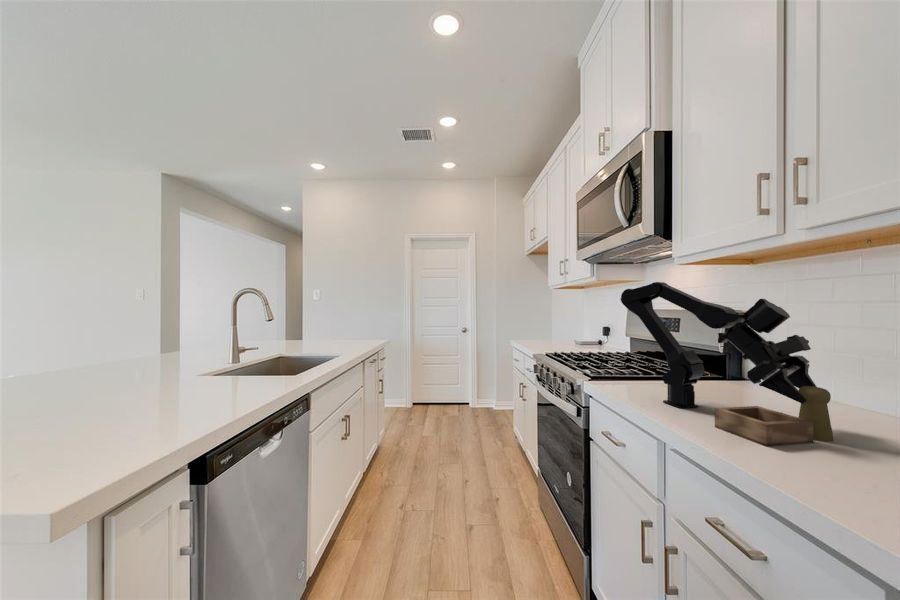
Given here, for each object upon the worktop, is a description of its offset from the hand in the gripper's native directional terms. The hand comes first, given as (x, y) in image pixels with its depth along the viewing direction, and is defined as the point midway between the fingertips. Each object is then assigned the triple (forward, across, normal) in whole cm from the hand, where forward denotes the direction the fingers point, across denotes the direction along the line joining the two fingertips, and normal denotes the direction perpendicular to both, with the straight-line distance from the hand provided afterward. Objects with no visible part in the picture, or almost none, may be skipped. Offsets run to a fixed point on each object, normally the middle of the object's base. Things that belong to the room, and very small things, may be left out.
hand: (812, 399), depth 82 cm
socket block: (+1, -9, +10) cm, 14 cm away
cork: (+6, 0, +6) cm, 8 cm away
